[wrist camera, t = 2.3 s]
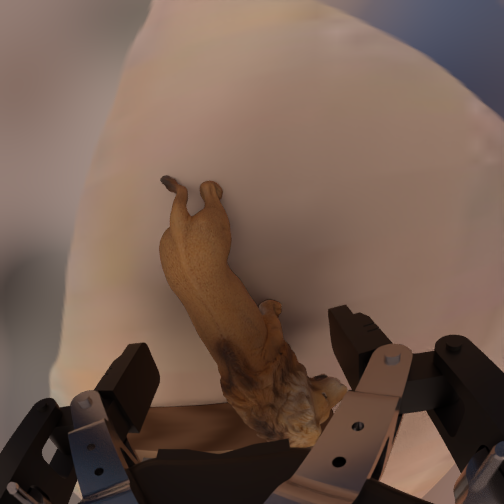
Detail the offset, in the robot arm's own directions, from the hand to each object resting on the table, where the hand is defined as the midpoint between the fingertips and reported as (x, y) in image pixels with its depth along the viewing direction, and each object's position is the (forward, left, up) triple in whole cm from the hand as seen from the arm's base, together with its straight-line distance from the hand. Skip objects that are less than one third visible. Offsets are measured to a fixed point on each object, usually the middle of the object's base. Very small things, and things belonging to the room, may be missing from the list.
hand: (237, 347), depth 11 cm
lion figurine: (0, -1, -7) cm, 7 cm away
